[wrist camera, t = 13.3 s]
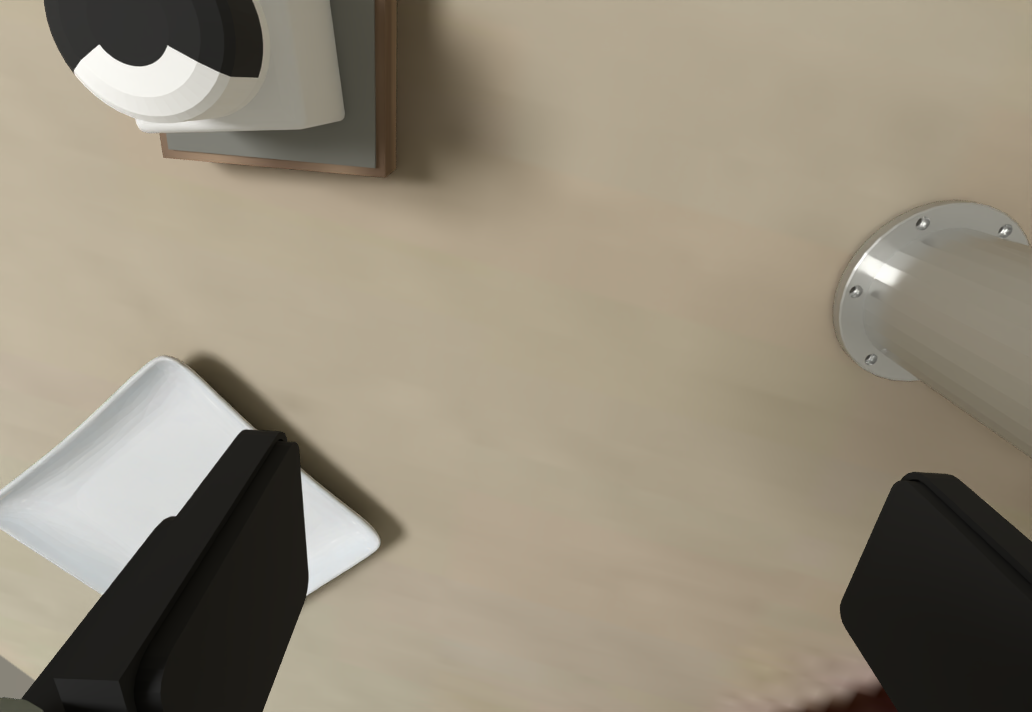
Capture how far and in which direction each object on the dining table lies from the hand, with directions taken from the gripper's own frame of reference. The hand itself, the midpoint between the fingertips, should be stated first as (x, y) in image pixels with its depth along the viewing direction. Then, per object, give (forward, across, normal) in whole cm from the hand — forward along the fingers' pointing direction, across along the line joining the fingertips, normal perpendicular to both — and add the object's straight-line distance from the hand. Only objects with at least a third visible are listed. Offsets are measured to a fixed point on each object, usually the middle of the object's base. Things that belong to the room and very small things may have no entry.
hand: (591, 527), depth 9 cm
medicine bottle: (+26, +14, -7) cm, 31 cm away
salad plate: (+31, +23, +26) cm, 46 cm away
